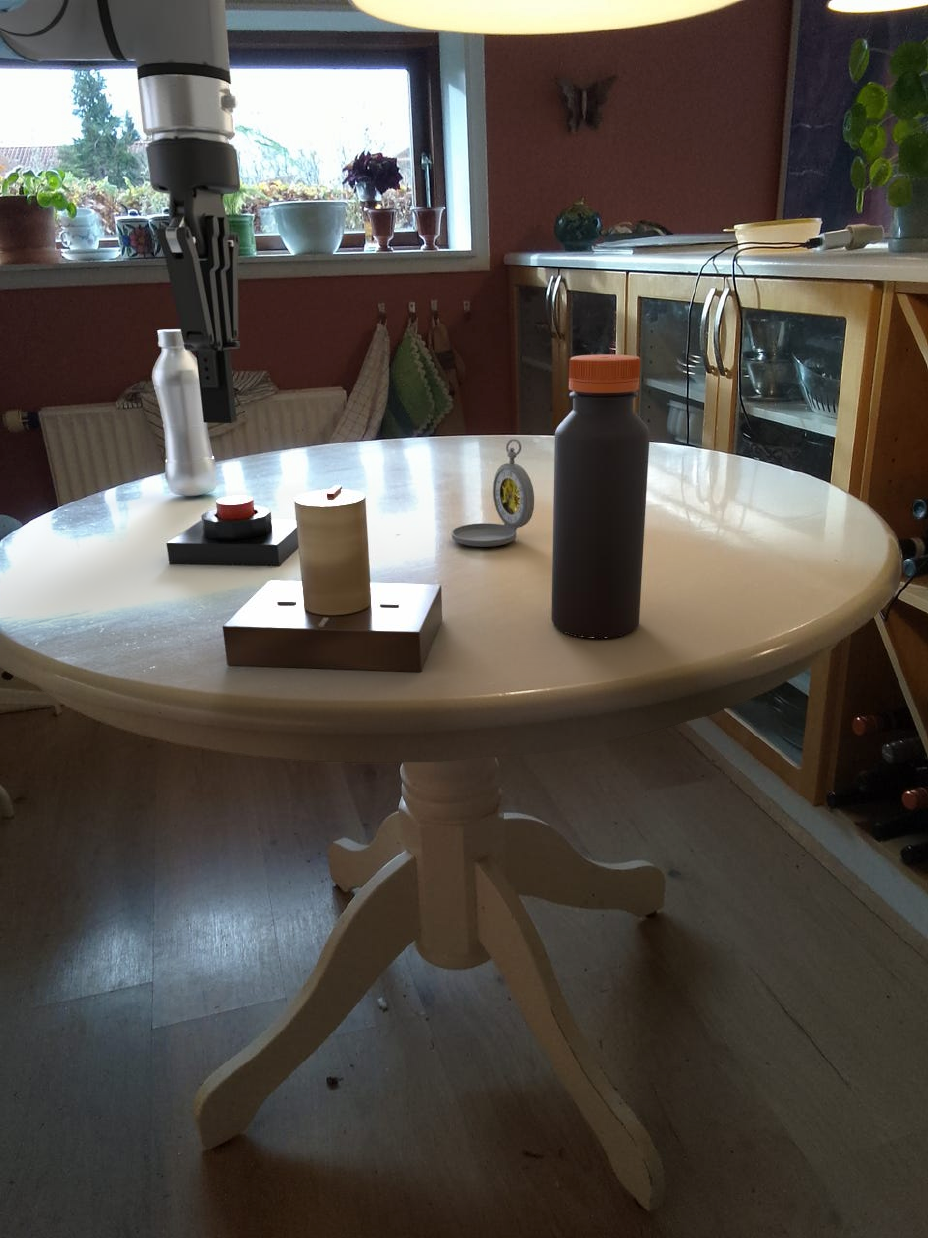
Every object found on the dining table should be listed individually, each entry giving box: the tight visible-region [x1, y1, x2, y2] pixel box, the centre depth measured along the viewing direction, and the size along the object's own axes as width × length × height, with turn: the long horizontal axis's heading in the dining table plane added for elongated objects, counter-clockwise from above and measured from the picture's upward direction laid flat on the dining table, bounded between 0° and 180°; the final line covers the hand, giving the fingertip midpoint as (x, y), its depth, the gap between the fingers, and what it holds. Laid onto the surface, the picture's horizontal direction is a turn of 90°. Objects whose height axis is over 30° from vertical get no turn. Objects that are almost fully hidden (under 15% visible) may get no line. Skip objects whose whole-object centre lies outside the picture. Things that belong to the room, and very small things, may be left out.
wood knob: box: [293, 485, 372, 615], centre depth 64 cm, size 5×5×8 cm
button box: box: [166, 505, 299, 568], centre depth 89 cm, size 11×9×4 cm
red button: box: [215, 495, 255, 519], centre depth 88 cm, size 4×4×2 cm
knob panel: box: [222, 580, 443, 673], centre depth 67 cm, size 14×10×3 cm
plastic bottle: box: [151, 328, 219, 497], centre depth 110 cm, size 6×7×20 cm
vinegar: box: [550, 353, 651, 639], centre depth 66 cm, size 7×7×20 cm
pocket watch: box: [451, 438, 535, 548], centre depth 90 cm, size 8×8×10 cm
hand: (220, 421), depth 85 cm, fingers closed
